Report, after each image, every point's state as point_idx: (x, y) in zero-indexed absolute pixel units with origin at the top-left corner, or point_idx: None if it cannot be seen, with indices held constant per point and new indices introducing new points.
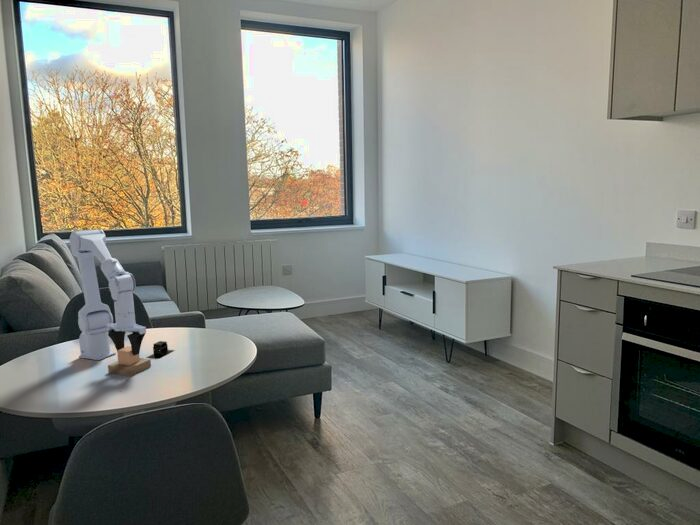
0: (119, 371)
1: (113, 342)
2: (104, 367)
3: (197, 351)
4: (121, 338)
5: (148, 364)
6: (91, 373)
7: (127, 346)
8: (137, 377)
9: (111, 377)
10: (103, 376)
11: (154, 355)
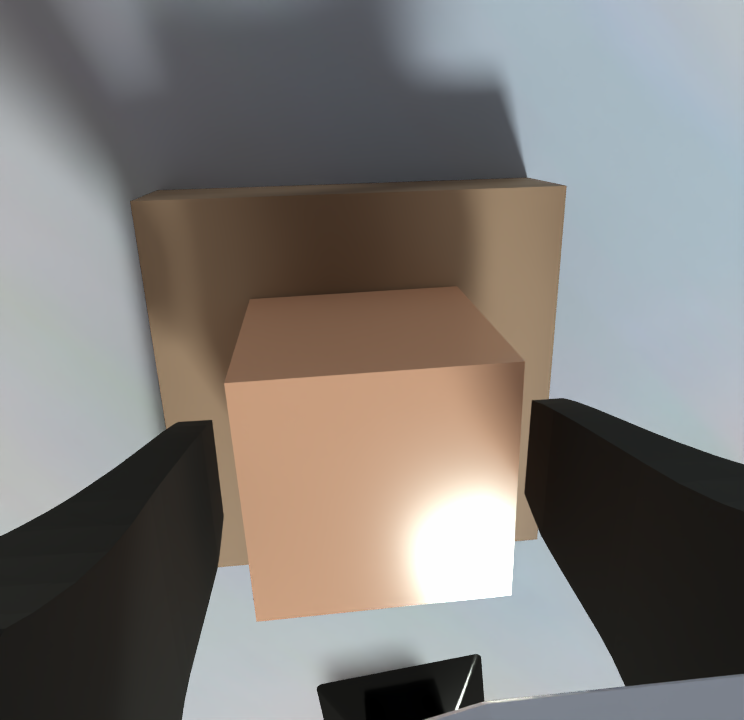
0: (341, 187)
1: (739, 465)
2: (705, 298)
3: None
4: (659, 660)
5: None
6: (726, 76)
7: (509, 586)
8: (21, 188)
9: (357, 54)
10: (492, 44)
11: (422, 717)
